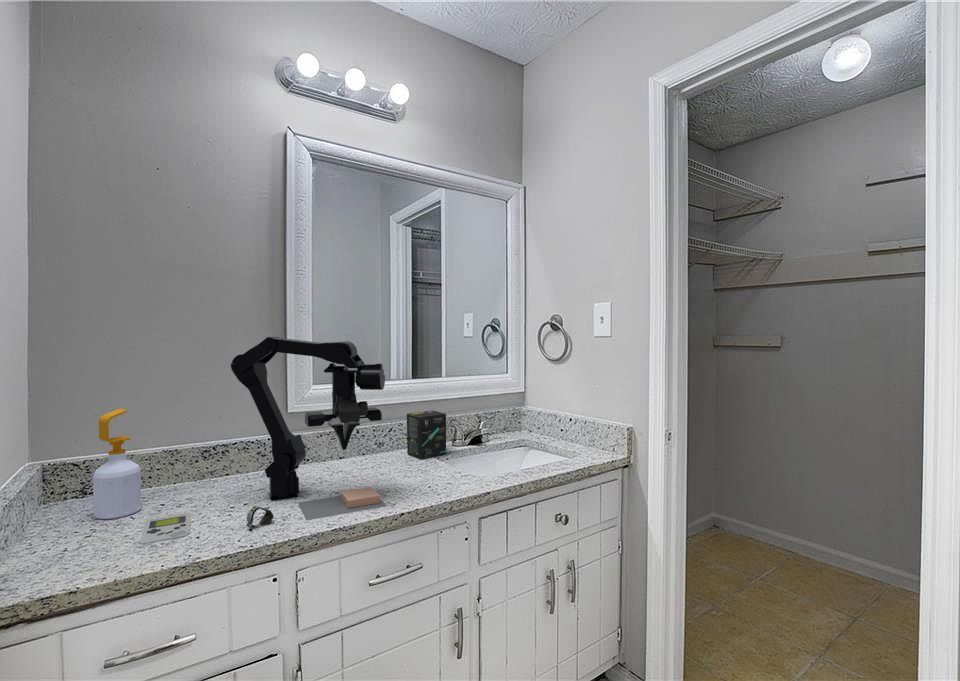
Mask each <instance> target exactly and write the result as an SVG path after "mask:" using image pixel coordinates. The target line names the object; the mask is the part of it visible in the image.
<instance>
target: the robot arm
mask: <svg viewBox="0 0 960 681" xmlns="http://www.w3.org/2000/svg"><path fill="white" fill-rule="evenodd" d="M278 353H281V354H288V355H289V354H290V355H298V356H307V357H314V358H319V359H322V360H324V361H325V362H326V361H327V362H330V363H329V365H328V366H327V367H326V368H325V369H323V373H325V374H327V373H330V374H331V373H332V374H331V375H332V376H331V378H332V379H331V382H332V383H331V384H332V385H331V386H332V387H331V388H332V389H331V390H332V393H331V397H332V400H331V402H332V403H331V404H332V406H331V407H332V408H331V413H324V412H322V411H320V410H319V411H309V412H308V411H307V412H306V413H305V414H304V424H305V425H306V426H307V427H310V428H311V427H321V426H323V425H324V424H325V423H326V422H327V425H328V426H329V427H330V428H332V429H333V430H334V432H335V434H336V437H337V439H338V441H339V445H340V447H341V450H343V451H346V450H347V448H348V444H349V442H350V439H351V436H352V434H353V432H354V430H355V429H356V427H357V426H360V425H361V423H360V421H361V419H368V420H369V421H370V422H376V421H382V420H383V417H382V416H383V414H382V411H381V409H379V408H377V407H375V406H372V407H369V406H368V401H366V400H365V401H359V402H358V401H357V394H356V387H359V390H361V391H372V390H373V391H374V390H375V391H376V390H378V391H383V390H384V388H385V384H386V383H385V382H386V375H385V372H384V365H383V363H375V364H374V363H372V364H371V363H370V364H369V363H368V364H367V363H365V362H364V360H363V359H362V358H361V356H360V355H359V354H358V349H357V346H356V345H355V344H354V343H353V342H351V341H348V340H346V341H331V342H330V341H329V342H316V341H311V340H310V341H309V340H302V339H301V340H300V339H291V338H283V337H281V336H280V337H279V336H268V337H265V338H264V339H263V340H262V341H261V342H260V343H258V344H256V345H255V346H253V347H251V348H250V349H248V350H246V351H245V352H244V353H243V354H242V353H241V354H237V355H236V356H234V358H233V359H232V361H231V363H230V369H231V372H232V373H233V374H234V376H235V377H236V379H237V380H238V382H239V383H241V384H242V385H243V386H244V387H245V388H246V389H247V390H248V391H249V393H250V396H251V398H252V400H253V402H254V405H255V407H256V408H257V410H258V411H257V412H258V413H259V415H260V417H261V420H262V422H263V424H264V425H265V428H266V430H267V432H268V435H269V437H270V439H271V454H272V455H271V456H272V459H273V461H272V462H271V463H270V464H269V465H268V466H267V467H266V468H264V472H265V475H266V478H268V479H269V492H268V496H269V500H270V502H276V501H282V500H288V499H295V498H298V497H299V495H298V494H299V493H300V479H299V476H298V474H297V472H296V471H297V470H298V468H299V467H300V464H301V463H302V462H303V461H304V460H305V458H306V455H307V452H306V448H307V445H306V444H305V443H304V441H303V439H302V438H303V437H302V435H301V434H297V435H294V434H293V433H292V432H291V431H290V429H289V427H288V425H287V422H286V420H285V419H284V416H283V413H282V412H281V410H280V408H279V405H278V402H277V401H276V399H275V396H274V395H273V392H272V390H271V388H270V386H269V384H268V371H267V367H266V364H268V363H269V362H270V361H271V360H272V359H273V358H274V357H275V356H276V354H278Z"/></svg>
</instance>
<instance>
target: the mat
mask: <svg viewBox="0 0 960 681" xmlns="http://www.w3.org/2000/svg"><path fill="white" fill-rule="evenodd" d="M297 504H298V507H299V508H300V510H301V513H302V514H303V516H304V520H305V521H310V520H311V521H312V520H316V519H322V518H329V517H333V516H339V515H345V514H350V513H356V512H362V511H367V510H368V511H369V510H372V509H379V508H384V507H387V506H388V505H387V503H386V502H384V501H383V500H382V499H381V498H380V503H377V504H371V505H365V506H360V507H354V508H347V506H346V505H345V504H344V502H343V501H342V500H341V495H337V496H336V495H335V496H331V497H330V496H329V497H324V498H317V499H310V500H305V501H299V502H297Z"/></svg>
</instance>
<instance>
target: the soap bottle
mask: <svg viewBox="0 0 960 681" xmlns="http://www.w3.org/2000/svg"><path fill="white" fill-rule="evenodd" d="M126 413H128V410H127V409H124V408H118V409H115V410H113V411H110V412H108V413H105V414H103V415H101V417H99V419H98V438H99V440H100V441H102V442H105V443H106V442H107V443H109V445H110V446H112V450H109V451H108V454H107V455H108V461H107V462H105V463H104V464H102V465H100V466H99V467H98V468H97V469H95V471H94V473H93V475H92V485H93V486H92V487H93V490H92V491H93V492H92V493H93V494H92V496H93V517H94V518H95V519H100V520H112V519H118V518H124V517H127V516H130V515H133V514H135V513H137V512H139V510H141V508H142V486H141V485H142V483H141V482H142V477H141V476H142V471H141V470H142V469H141V467H140V465H139V464H137V463H136V462H134V461H133V460H129V459H127V457H126V456H127V452H126V451H127V450H126V449H124V448H122V445H124V444H125V441H129V440H131V438H132V437H130V436H126V435H121V436H115V437H110V433H109V432H110V429H109V428H110V427H109V426H110V425H109V424H110V421H111V420H112V419H113V418H116V417H118V416H121V415H123V414H126Z"/></svg>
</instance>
